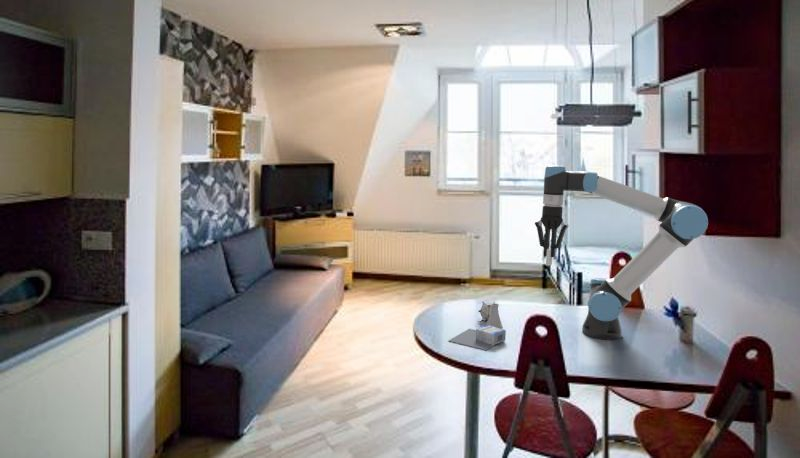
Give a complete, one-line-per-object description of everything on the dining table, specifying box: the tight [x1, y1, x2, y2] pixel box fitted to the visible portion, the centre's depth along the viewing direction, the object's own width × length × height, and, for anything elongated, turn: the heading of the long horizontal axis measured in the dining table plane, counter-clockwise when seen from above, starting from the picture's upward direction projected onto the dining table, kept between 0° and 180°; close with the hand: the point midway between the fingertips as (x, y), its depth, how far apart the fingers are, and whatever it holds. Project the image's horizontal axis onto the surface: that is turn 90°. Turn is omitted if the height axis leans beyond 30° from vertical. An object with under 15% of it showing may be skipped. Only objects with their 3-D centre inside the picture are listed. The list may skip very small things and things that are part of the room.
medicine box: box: [475, 325, 507, 346], centre depth 211 cm, size 8×4×9 cm
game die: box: [477, 301, 496, 322], centre depth 237 cm, size 9×8×10 cm
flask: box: [485, 302, 503, 329], centre depth 228 cm, size 7×7×10 cm
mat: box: [448, 328, 495, 351], centre depth 213 cm, size 16×18×1 cm
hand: (548, 264), depth 214 cm, fingers closed
